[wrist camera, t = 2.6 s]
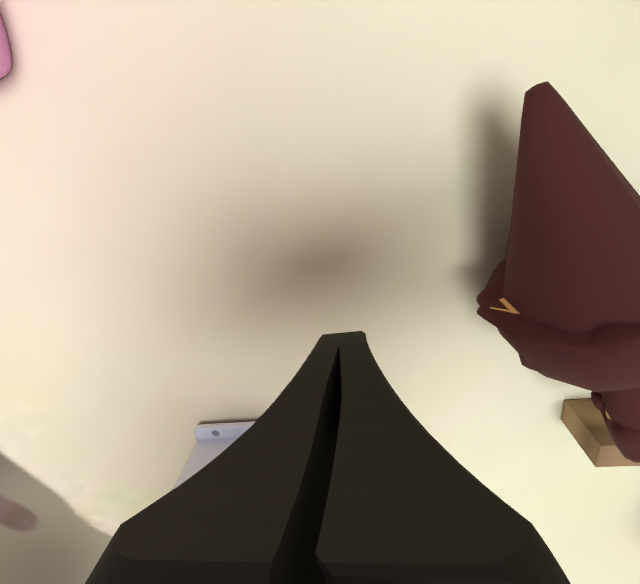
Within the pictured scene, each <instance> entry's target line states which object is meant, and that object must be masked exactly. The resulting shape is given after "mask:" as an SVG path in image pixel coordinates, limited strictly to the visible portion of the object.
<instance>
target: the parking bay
mask: <svg viewBox="0 0 640 584" xmlns="http://www.w3.org/2000/svg"><path fill="white" fill-rule="evenodd" d="M561 420H562V422H563V423H564V424H565V426H566V427H567V429H568V430H569V431H570V433H571V434H572V435H573V437H574V438H575V440H576V441H577V442H578V444H579V445H580V446H581V448H582V449H583V450H584V452H585V453H586V455H587V456H588V457H589V459H590V460H591V461H592V463H593V464H594V466H595V467H610V466H640V463H636V462H633V461H631V460H629V459H626V458H624V456H623V455H622V453H621V452H620V451H619V449H618V448H617V446H616V445H615V443H614V442H613V440H612V439H611V437H610V434H609V432H608V429H607V426H606V424H605V421H604V418H603V416H602V413H601V411H600V410H599V409H597V408H596V407H595V406H594V404H593V402H592V400H591V399H575V400H565V401H564V406H563V411H562V417H561Z"/></svg>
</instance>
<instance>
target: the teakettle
mask: <svg viewBox="0 0 640 584" xmlns="http://www.w3.org/2000/svg"><path fill="white" fill-rule="evenodd" d="M11 68H12V53H11V49H10V45H9V41H8V37H7V32H6V29H5V26H4V23H3V20H2V17H1V14H0V79H2V78H3V77H5V76H6V75H7V74H9V73H10V71H11Z"/></svg>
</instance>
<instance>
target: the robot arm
mask: <svg viewBox="0 0 640 584" xmlns="http://www.w3.org/2000/svg"><path fill="white" fill-rule="evenodd" d="M194 433H195V436H196V438H197V440H198V441H197V443H196V445H195V447H194V449H193V451H192V453H191V455H190V457H189V459H188V461H187V463H186V465H185V467H184V469H183V471H182V473H181V475H180V477H179V479H178V481H177V483H176V485H175V486H174V488H173V490H172V491H171V492H169V493H168V494H166V495H165V496H163V497H162V498H160V499H159V500H157V501H156V502H154V503H153V504H151V505H150V506H148V507H147V508H145V509H144V510H142V511H141V512H139V513H138V514H136V515H135V516H133V517H132V518H130V519H128V520H127V521H125V522H124V523H122V524H121V525H120V527H119V528H118V530H117V531H116V533H115V534H114V536H113V538H112V539H111V541H110V543H109V544H108V546H107V548H106V549H105V551H104V552H103V554H102V556H101V558H100V559H99V561H98V563H97V564H96V566H95V568H94V569H93V571H92V573H91V574H90V576H89V578H88V579H87V581H86V583H85V584H570V582H569V580H568V579H567V577H566V575H565V573H564V572H563V570H562V568H561V567H560V565H559V564H558V562H557V560H556V559H555V557H554V556H553V554H552V552H551V551H550V549H549V548H548V547H547V545H546V544H545V542H544V541H543V539H542V538H541V536H540V535H539V533H538V532H537V530H536V529H535V528H534V526H533V525H532V523H530V522H529V521H528V520H527V519H525V518H524V517H523V516H521V515H520V514H519V513H518V512H516V511H515V510H514V509H513V508H511V507H510V506H509V505H508V504H506V503H505V502H504V501H503V500H501V499H500V498H499V497H498V496H497V495H495V494H494V493H493V492H492V491H491V490H489V489H488V488H487V487H486V486H485V485H483V484H482V483H481V482H480V481H479V480H478V479H477V478H475V477H474V476H473V475H472V474H471V473H470V472H469V471H468V470H466V469H465V468H464V467H463V466H462V465H461V464H460V463H459V462H458V461H457V460H456V459H455V458H454V457H453V456H452V455H450V454H449V453H448V452H447V451H446V450H445V449H444V448H443V447H442V446H441V445H440V444H439V443H438V442H437V441H436V440H435V439H434V438H433V437H432V436H431V435H430V434H429V433H428V432H427V430H426V429H425V428H424V427H423V426H422V425H421V424H420V423H419V421H418V420H417V419H416V418H415V417H414V416H413V414H412V413H411V412H410V411H409V410H408V408H407V407H406V406H405V405H404V403H403V402H402V401H401V400H400V398H399V397H398V395H397V394H396V393H395V391H394V390H393V388H392V387H391V386H390V384H389V383H388V381H387V380H386V378H385V376H384V375H383V373H382V371H381V370H380V368H379V366H378V364H377V363H376V361H375V359H374V357H373V355H372V353H371V351H370V349H369V346H368V343H367V340H366V334H365V333H364V332H362V331H356V332H346V333H335V334H325V335H322V336H321V337H320V339H319V340H318V342H317V344H316V345H315V347H314V348H313V350H312V351H311V353H310V355H309V356H308V358H307V359H306V361H305V362H304V364H303V365H302V366H301V368H300V369H299V371H298V372H297V373H296V375H295V376H294V378H293V379H292V380H291V382H290V383H289V384H288V385H287V387H286V388H285V389H284V390H283V392H282V393H281V394H280V395H279V396H278V398H277V399H276V400H275V401H274V402H273V404H272V405H271V406H270V407H269V408H268V409H267V410H266V411H265V412H264V414H263V415H262V416H261V417H260V418H259V419H258V420H257V421H251V422H234V423H216V424H201V425H198V426H197V427H196V429H195V431H194Z"/></svg>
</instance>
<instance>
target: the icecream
mask: <svg viewBox="0 0 640 584" xmlns="http://www.w3.org/2000/svg"><path fill="white" fill-rule="evenodd" d="M477 302H478V304H479V305H480V307H479V308H478V310H477V314H478V315H480V316H481V317H483V318H484V319H485V320H487V321H488V322H490V323H491V324H493V325H494V326H496V327H497V328H498V330H499V332H500V334H501V335H502V336H503V337H504V338H505V339H506V340H507V341H508V342H509V344H510V345H511V346H512V347H513V348H514V349H515V350H516V351H517V352H518V353H519V357H520V360H521V363H522V365H523V366H525V367H527V368H529V369H532V370H535V371H537V372H539V373H541V374H542V375H544V376H546V377H549V378H552V379H555V380H558V381H562V382H565V383H568V384H571V385H574V386H578V387H581V388H584V389H587V390H591V391H592V393H591V400H592V402H593V404H594V406H595V407H596V408H597V409H599V410H600V411H601V413H602V416H603V418H604V421H605V424H606V426H607V429H608V432H609V434H610V437H611V439H612V440H613V442H614V443H615V445H616V446H617V448H618V449H619V451H620V452H621V453H622V455H623V456H624V458H626V459H629V460H631V461H633V462H636V463H640V196H639V194H638V193H637V192H636V191H635V189H634V188H633V187H632V186H631V184H630V183H629V182H628V181H627V179H626V178H625V177H624V176H623V174H622V173H621V172H620V171H619V169H618V168H617V167H616V165H615V164H614V163H613V162H612V160H611V159H610V158H609V157H608V155H607V154H606V153H605V152H604V150H603V149H602V148H601V147H600V145H599V144H598V143H597V142H596V140H595V139H594V138H593V137H592V135H591V134H590V133H589V131H588V130H587V129H586V128H585V126H584V125H583V124H582V122H581V121H580V120H579V119H578V117H577V116H576V115H575V113H574V112H573V111H572V110H571V108H570V107H569V106H568V104H567V103H566V102H565V100H564V99H563V98H562V97H561V96H560V95H559V93H558V92H557V91H556V90H555V89H554V88H553V87H552V86H551V84H550V83H549V82H543V83H540V84H537V85H535V86H534V87H532V88H531V89H529V90H528V91H526V93H525V97H524V104H523V111H522V119H521V129H520V140H519V150H518V161H517V171H516V180H515V189H514V199H513V208H512V217H511V226H510V235H509V244H508V253H507V258H506V259H504V260H503V261H502V262H501V263H500V264H499V265H498V266H497V267H496V268H495V270H494V272H493V274H492V276H491V278H490V280H489V282H488V284H487V286H486V288H485V289H484V290H483V291H482V292H481V293H480V294H479V295H478V296H477Z"/></svg>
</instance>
